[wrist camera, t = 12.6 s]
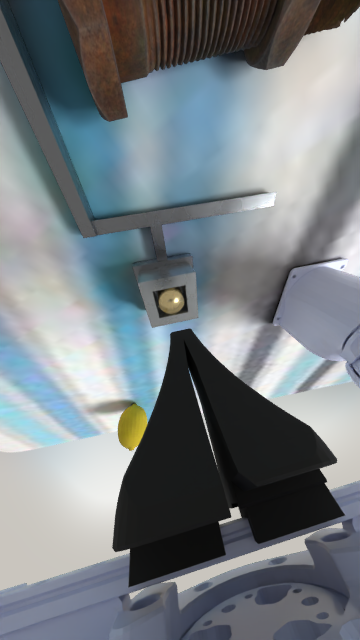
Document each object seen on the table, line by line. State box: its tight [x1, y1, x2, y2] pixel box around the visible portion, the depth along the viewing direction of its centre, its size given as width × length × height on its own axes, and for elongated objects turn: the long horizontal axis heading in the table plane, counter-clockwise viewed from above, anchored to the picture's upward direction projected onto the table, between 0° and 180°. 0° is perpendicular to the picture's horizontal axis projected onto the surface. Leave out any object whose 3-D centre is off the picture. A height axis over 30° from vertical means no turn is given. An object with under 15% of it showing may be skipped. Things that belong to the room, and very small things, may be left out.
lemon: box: [118, 404, 147, 451], centre depth 29 cm, size 6×6×8 cm
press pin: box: [157, 286, 184, 314], centre depth 15 cm, size 2×2×3 cm
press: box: [0, 0, 277, 328], centre depth 11 cm, size 21×17×4 cm
